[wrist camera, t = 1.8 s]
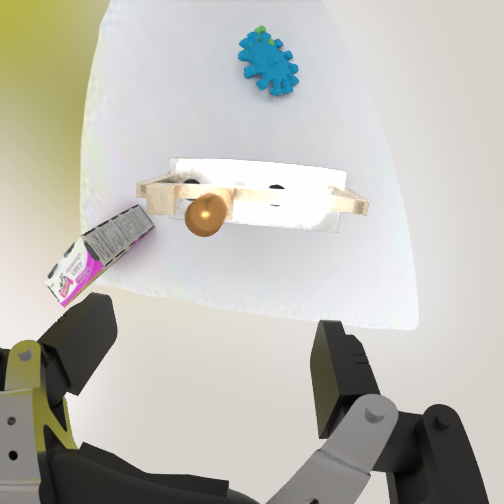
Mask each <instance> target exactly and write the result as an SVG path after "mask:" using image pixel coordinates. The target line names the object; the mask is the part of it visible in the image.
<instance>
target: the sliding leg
mask: <svg viewBox="0 0 504 504" xmlns="http://www.w3.org/2000/svg"><path fill="white" fill-rule="evenodd" d="M234 194H235V186H221V185H204V186H203V195H202V196H200V197H199V198H198V199H196V200H195V201H193V202H192V203H191V204H190V205H189V206H188V207H187V209H186V211H185V223H186V225H187V227H188V229H189V230H190V231H191V232H192V233H194V234H195V235H198V236H201V237H207V236H211V235H213V234H215V233H216V232H217V231H218V230H219V228H220V227H221V225H222V224H223V222H224V220H232V219H233V213H234Z"/></svg>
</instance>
